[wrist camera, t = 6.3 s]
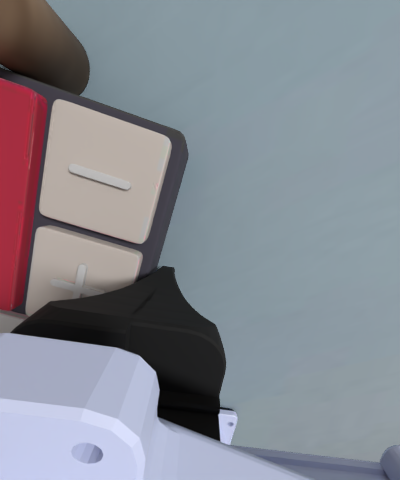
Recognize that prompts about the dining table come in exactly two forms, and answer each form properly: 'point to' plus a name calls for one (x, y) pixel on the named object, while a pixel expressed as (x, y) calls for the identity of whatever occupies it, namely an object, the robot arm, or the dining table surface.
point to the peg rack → (41, 45)
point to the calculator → (78, 196)
